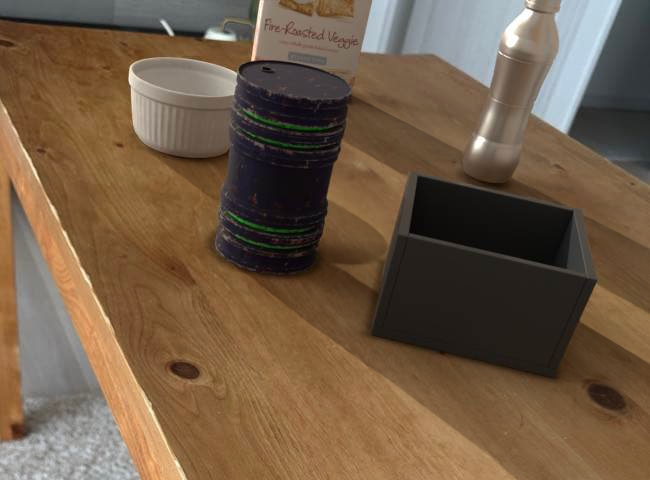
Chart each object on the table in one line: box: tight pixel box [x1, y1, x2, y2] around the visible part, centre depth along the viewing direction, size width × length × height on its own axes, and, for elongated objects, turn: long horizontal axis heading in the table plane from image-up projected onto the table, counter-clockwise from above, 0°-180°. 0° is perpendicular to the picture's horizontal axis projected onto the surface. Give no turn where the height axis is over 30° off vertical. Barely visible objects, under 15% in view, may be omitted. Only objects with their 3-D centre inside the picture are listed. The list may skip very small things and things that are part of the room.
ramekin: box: [128, 56, 237, 159], centre depth 97 cm, size 13×13×7 cm
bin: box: [370, 170, 598, 378], centre depth 75 cm, size 16×15×9 cm
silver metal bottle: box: [462, 0, 563, 184], centre depth 99 cm, size 6×7×20 cm
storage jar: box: [214, 60, 353, 276], centre depth 77 cm, size 10×10×15 cm
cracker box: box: [250, 0, 373, 90], centre depth 114 cm, size 14×6×21 cm, turn 92°
